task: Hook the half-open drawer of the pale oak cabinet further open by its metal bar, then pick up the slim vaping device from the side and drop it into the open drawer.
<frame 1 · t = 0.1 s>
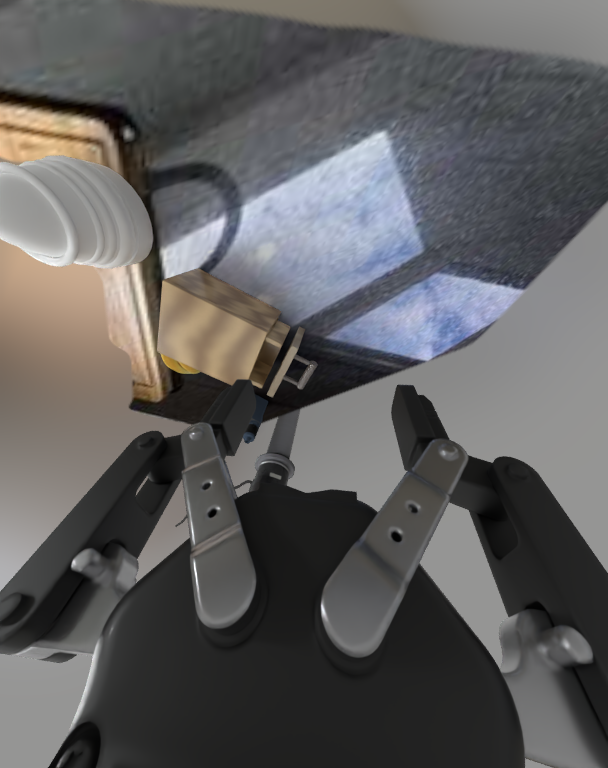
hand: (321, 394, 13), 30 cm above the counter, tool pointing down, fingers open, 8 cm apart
cabinet: (232, 321, 44), on the counter
honey pot: (113, 218, 36), on the counter
bread roll: (188, 352, 50), on the counter
vaping device: (259, 399, 55), on the counter
drawer: (263, 351, 41), point 5 cm above the counter, slide at 4.0 cm
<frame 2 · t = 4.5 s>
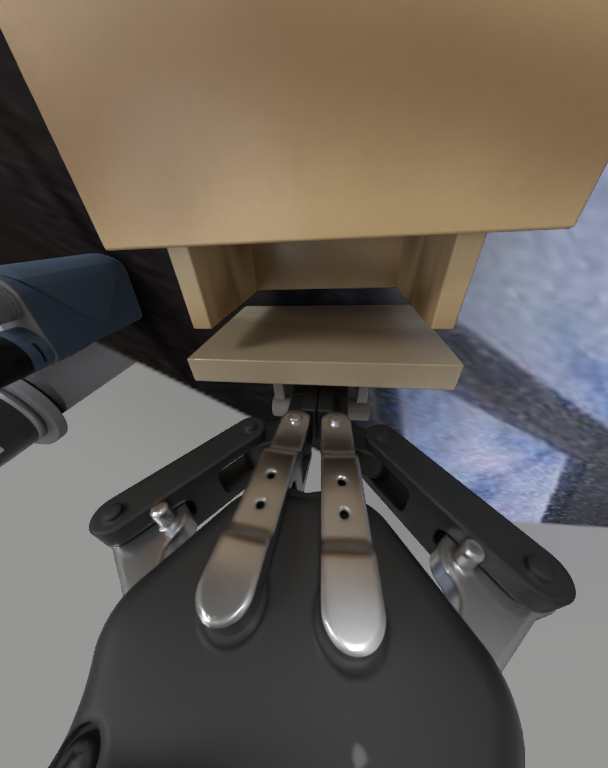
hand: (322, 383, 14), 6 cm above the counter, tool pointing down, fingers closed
cabinet: (327, 2, 9), on the counter
vaping device: (123, 289, 18), on the counter
drawer: (320, 245, 10), point 5 cm above the counter, slide at 4.3 cm, touching gripper
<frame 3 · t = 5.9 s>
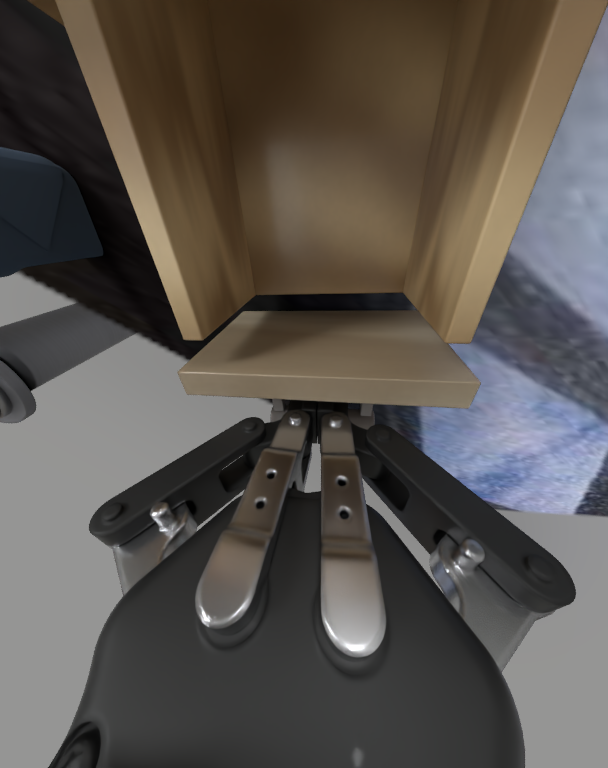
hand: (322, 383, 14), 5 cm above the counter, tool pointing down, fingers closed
vaping device: (77, 215, 15), on the counter
drawer: (322, 248, 9), point 5 cm above the counter, slide at 9.0 cm
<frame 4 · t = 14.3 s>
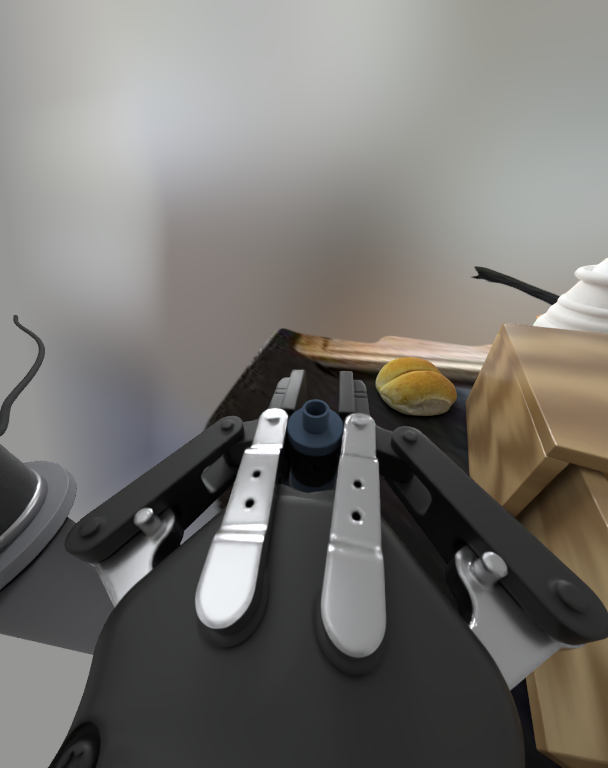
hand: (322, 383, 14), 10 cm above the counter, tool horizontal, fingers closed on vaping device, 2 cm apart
cabinet: (560, 481, 18), on the counter
honey pot: (575, 369, 31), on the counter
bread roll: (411, 395, 28), on the counter
vaping device: (321, 516, 17), on the counter, touching gripper
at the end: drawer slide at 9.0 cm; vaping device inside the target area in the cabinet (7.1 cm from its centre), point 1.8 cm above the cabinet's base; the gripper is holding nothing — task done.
